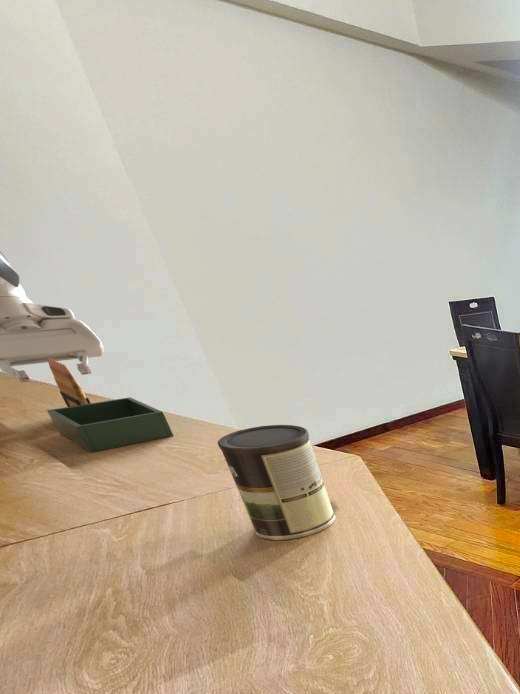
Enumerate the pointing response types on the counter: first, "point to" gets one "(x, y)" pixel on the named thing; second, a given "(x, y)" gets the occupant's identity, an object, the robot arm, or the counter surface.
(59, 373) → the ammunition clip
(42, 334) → the robot arm
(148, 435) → the tray
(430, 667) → the counter surface
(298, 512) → the coffee can
